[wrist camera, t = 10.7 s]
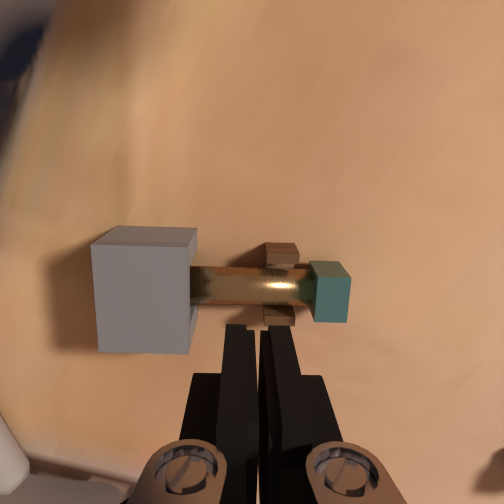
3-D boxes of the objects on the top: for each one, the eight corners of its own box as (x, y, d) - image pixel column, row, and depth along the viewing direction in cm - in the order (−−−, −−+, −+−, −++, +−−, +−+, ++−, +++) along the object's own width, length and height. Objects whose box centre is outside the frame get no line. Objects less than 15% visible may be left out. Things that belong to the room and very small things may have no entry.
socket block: (117, 225, 41) (90, 244, 34) (197, 228, 41) (186, 247, 34) (122, 316, 44) (98, 352, 37) (197, 318, 44) (188, 354, 37)
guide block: (265, 242, 42) (267, 253, 38) (294, 243, 42) (299, 254, 38) (262, 309, 44) (264, 325, 40) (290, 309, 44) (294, 326, 40)
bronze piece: (155, 256, 41) (143, 272, 36) (338, 261, 41) (351, 277, 37) (156, 297, 42) (145, 318, 37) (334, 301, 43) (346, 322, 38)
